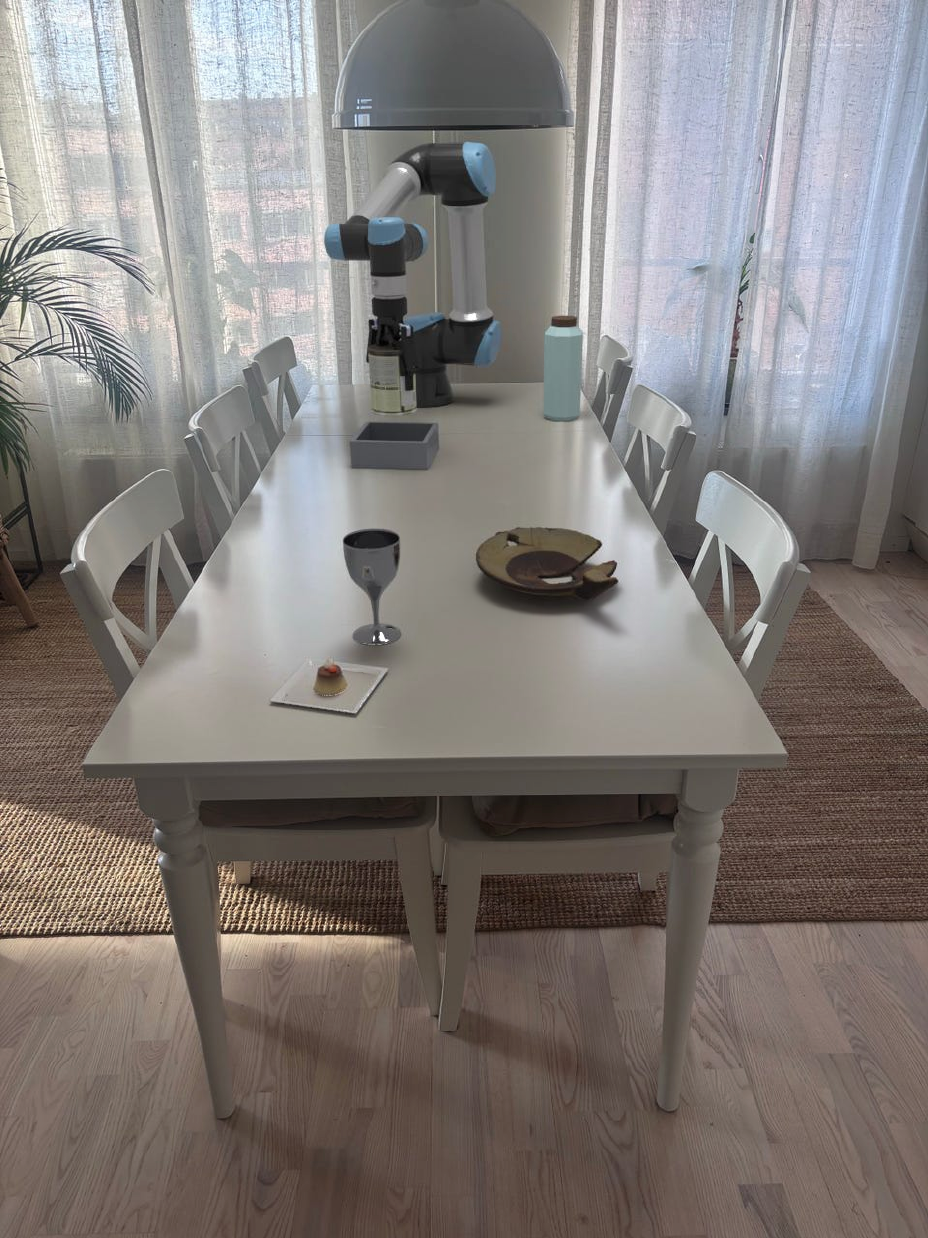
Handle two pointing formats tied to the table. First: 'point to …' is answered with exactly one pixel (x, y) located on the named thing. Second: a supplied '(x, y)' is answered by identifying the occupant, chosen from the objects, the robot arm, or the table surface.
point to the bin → (395, 445)
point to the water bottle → (562, 369)
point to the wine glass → (373, 576)
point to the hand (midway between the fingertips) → (393, 400)
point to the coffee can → (387, 382)
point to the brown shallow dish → (545, 562)
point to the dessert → (327, 681)
